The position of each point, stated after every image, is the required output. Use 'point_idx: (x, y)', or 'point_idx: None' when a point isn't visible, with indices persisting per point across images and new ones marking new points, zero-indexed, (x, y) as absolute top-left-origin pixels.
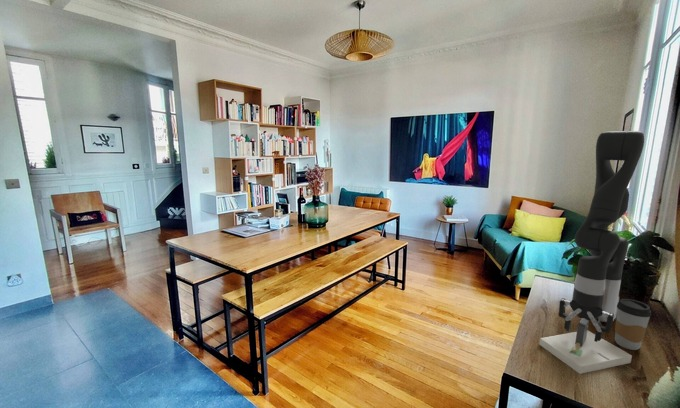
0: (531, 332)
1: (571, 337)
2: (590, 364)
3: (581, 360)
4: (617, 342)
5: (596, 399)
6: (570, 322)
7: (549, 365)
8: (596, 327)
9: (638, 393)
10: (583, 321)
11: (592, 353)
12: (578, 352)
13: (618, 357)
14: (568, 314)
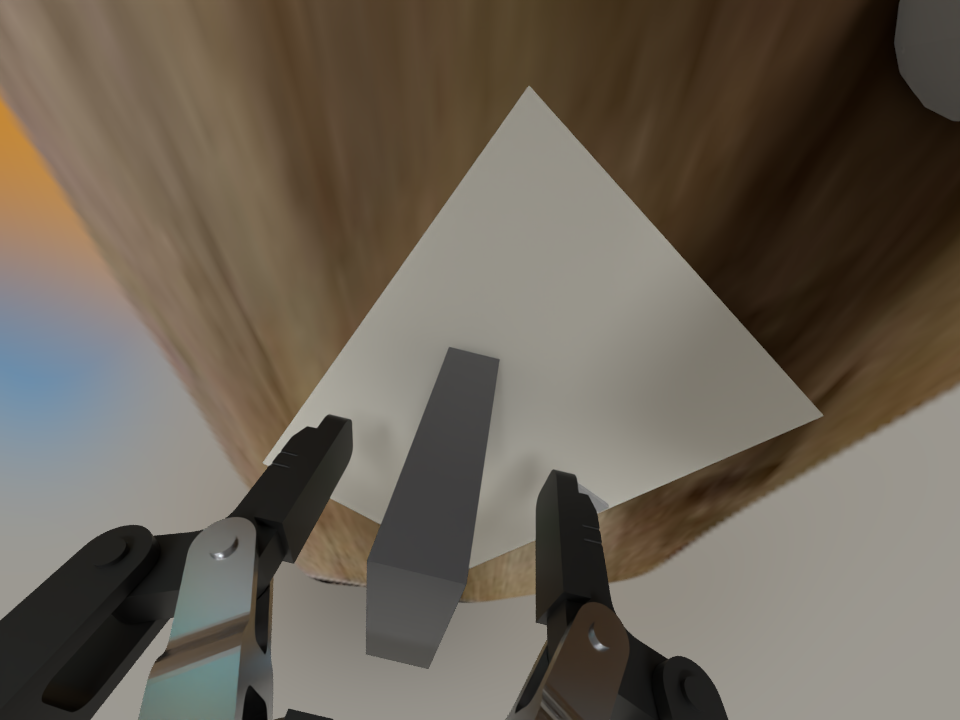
0: (191, 327)
1: (398, 375)
2: (503, 552)
3: None
4: (901, 51)
5: (513, 591)
6: (301, 519)
7: (375, 525)
8: (535, 692)
9: (662, 552)
10: (400, 616)
11: (524, 486)
12: None
13: (681, 470)
14: (186, 600)
